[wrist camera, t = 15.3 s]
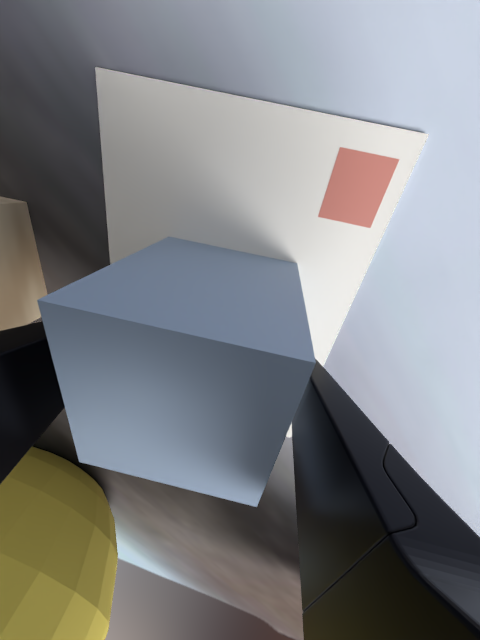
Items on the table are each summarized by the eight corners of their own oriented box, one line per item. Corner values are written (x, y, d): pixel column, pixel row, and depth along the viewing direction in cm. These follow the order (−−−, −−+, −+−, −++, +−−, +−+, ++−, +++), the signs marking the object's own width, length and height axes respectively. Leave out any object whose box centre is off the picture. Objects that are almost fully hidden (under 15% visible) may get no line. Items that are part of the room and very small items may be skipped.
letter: (290, 435, 14) (290, 438, 14) (121, 393, 15) (120, 395, 14) (426, 135, 7) (429, 134, 7) (97, 68, 8) (94, 66, 8)
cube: (267, 365, 12) (256, 507, 7) (166, 342, 12) (79, 461, 7) (297, 263, 9) (315, 362, 4) (168, 236, 10) (37, 300, 4)
